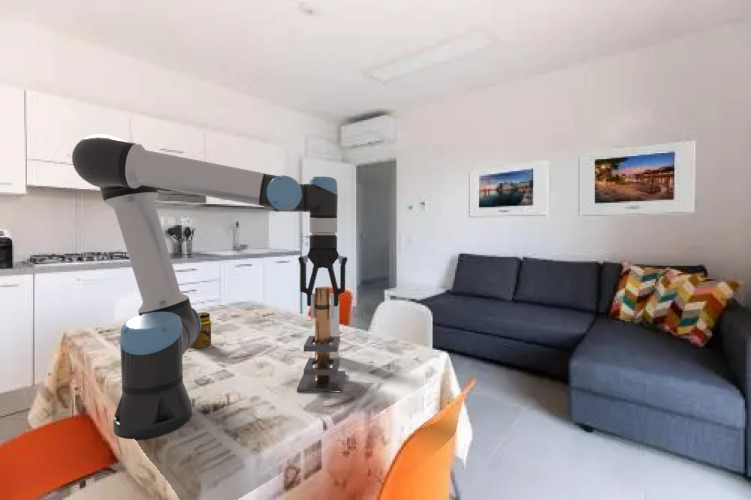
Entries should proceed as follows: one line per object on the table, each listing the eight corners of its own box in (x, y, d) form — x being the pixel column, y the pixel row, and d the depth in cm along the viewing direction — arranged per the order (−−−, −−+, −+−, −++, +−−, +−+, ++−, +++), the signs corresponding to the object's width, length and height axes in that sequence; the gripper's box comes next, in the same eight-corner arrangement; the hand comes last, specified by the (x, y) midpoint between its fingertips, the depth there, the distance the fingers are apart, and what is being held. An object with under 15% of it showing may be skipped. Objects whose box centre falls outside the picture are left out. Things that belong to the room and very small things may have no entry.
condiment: (213, 347, 132) (213, 314, 132) (187, 351, 128) (186, 317, 127) (210, 342, 138) (209, 310, 138) (184, 345, 134) (184, 313, 133)
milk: (323, 354, 127) (323, 290, 126) (339, 356, 125) (339, 292, 124) (314, 360, 122) (314, 293, 120) (330, 362, 120) (331, 295, 118)
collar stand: (342, 392, 99) (342, 344, 98) (296, 391, 99) (297, 344, 98) (345, 374, 111) (345, 331, 110) (305, 373, 111) (305, 331, 110)
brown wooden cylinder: (328, 382, 103) (328, 289, 101) (313, 382, 103) (313, 289, 101) (330, 376, 107) (330, 286, 105) (316, 376, 107) (316, 286, 105)
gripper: (356, 234, 106) (355, 314, 107) (293, 233, 105) (293, 313, 107) (355, 235, 98) (354, 321, 100) (287, 234, 98) (287, 320, 100)
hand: (322, 317), depth 103 cm, fingers open, 5 cm apart
